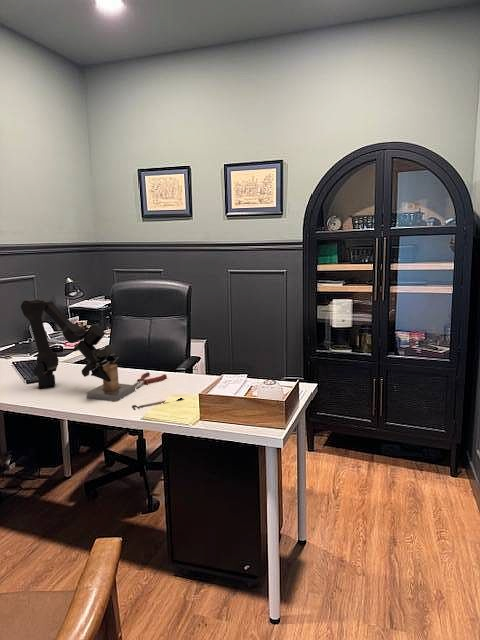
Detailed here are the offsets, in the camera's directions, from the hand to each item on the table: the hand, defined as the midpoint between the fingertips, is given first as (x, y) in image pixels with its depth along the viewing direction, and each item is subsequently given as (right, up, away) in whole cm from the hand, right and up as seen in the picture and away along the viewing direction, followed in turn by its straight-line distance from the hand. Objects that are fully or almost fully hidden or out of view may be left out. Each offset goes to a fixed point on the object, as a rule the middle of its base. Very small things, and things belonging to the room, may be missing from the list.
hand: (113, 379), depth 190 cm
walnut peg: (-1, -6, +2) cm, 7 cm away
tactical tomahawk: (+21, -9, -11) cm, 26 cm away
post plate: (-1, -6, +2) cm, 7 cm away
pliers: (+9, -4, +19) cm, 21 cm away
